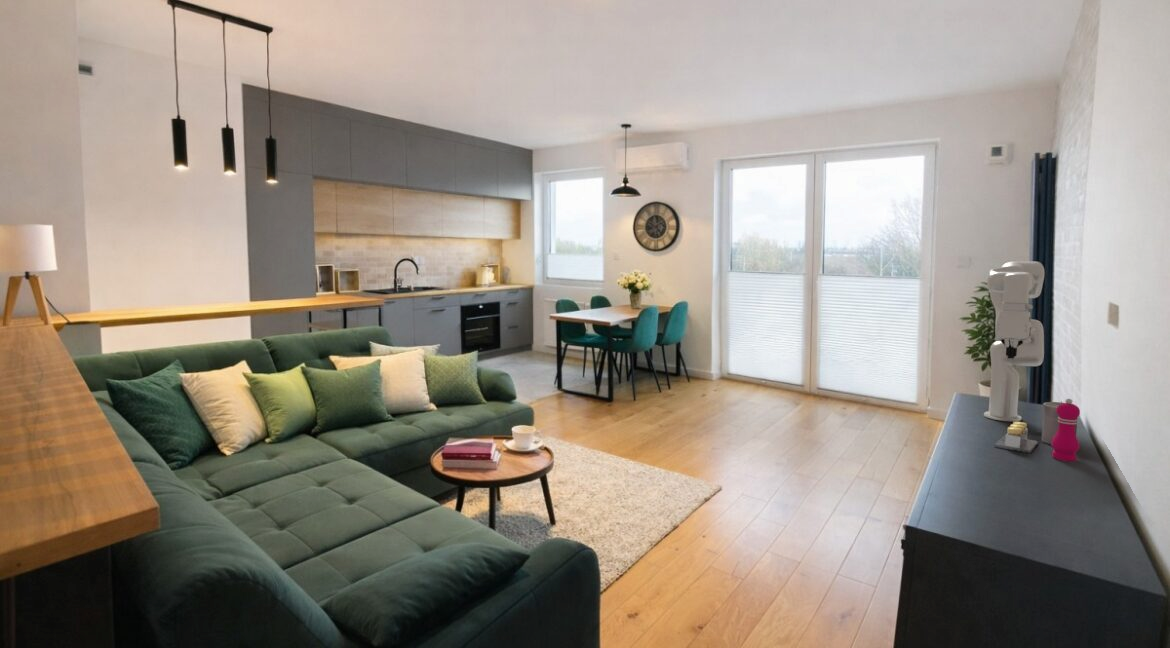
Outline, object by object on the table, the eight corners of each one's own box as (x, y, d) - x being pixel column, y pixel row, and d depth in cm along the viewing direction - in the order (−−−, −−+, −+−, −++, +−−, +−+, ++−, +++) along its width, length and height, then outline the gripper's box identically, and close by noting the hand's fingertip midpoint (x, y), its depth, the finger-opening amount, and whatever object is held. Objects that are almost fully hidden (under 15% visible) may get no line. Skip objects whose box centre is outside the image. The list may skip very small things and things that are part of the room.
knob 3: (1013, 436, 219) (1014, 421, 219) (1026, 438, 217) (1027, 423, 216) (1010, 438, 217) (1012, 423, 216) (1024, 441, 214) (1025, 425, 213)
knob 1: (1010, 439, 216) (1011, 423, 216) (1024, 441, 213) (1025, 425, 213) (1008, 441, 213) (1009, 426, 213) (1022, 444, 211) (1023, 428, 210)
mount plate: (1003, 438, 222) (1004, 424, 221) (1037, 443, 215) (1038, 430, 214) (994, 446, 212) (995, 433, 211) (1029, 453, 205) (1030, 438, 204)
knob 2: (1007, 441, 213) (1008, 426, 212) (1021, 444, 210) (1022, 428, 209) (1005, 444, 210) (1006, 428, 209) (1019, 447, 207) (1020, 431, 207)
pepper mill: (1068, 455, 203) (1073, 396, 201) (1083, 462, 196) (1089, 401, 194) (1045, 454, 204) (1049, 396, 201) (1059, 461, 197) (1064, 401, 194)
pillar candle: (1076, 442, 216) (1079, 400, 215) (1074, 448, 209) (1077, 406, 208) (1042, 437, 223) (1045, 396, 221) (1039, 443, 216) (1041, 401, 214)
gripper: (1042, 308, 216) (1038, 359, 218) (992, 305, 227) (989, 354, 229) (1038, 309, 211) (1034, 361, 213) (987, 307, 221) (984, 357, 224)
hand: (1010, 357), depth 221 cm, fingers closed
